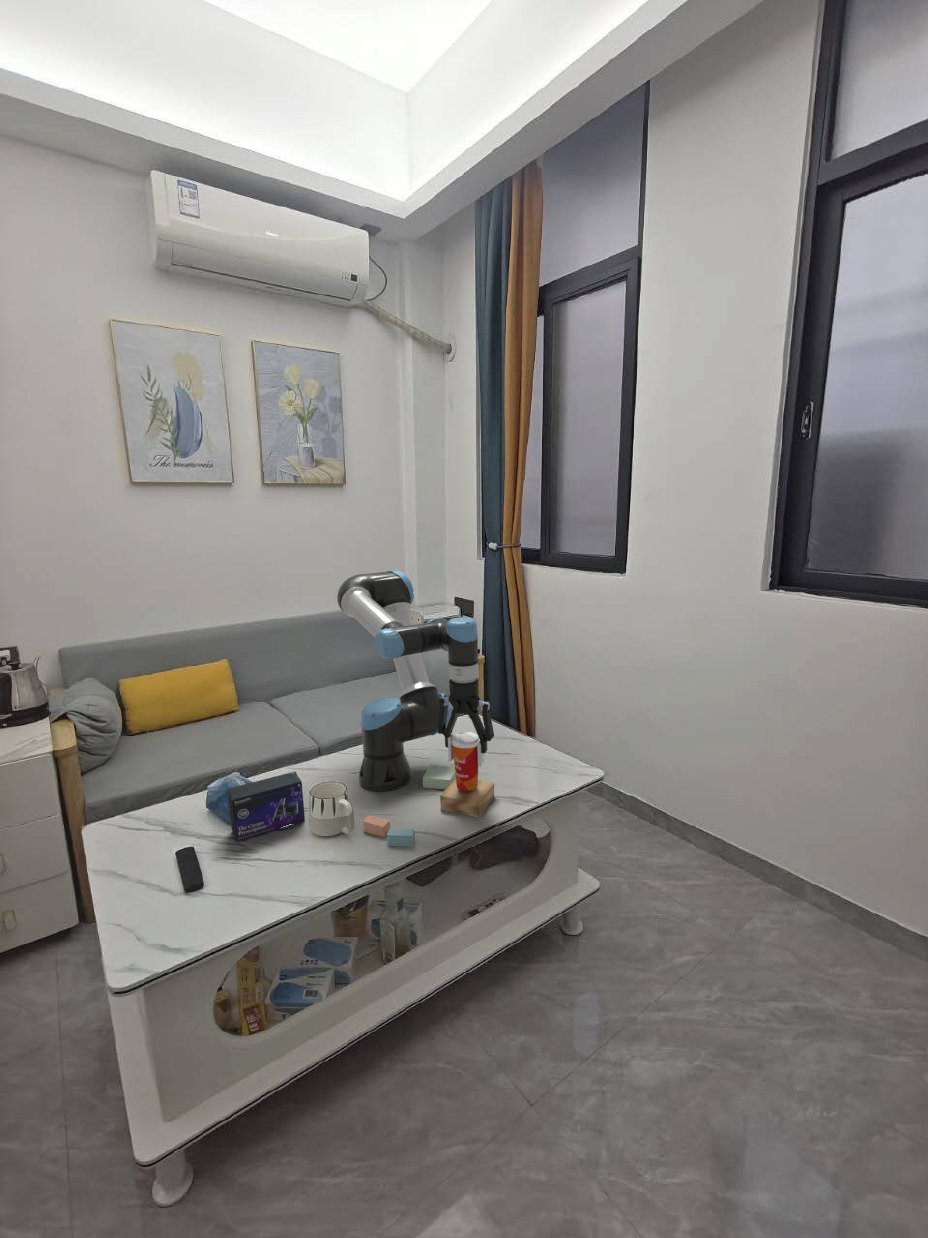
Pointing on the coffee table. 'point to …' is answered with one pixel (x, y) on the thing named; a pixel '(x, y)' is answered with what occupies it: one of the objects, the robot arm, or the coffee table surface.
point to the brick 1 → (376, 826)
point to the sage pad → (439, 777)
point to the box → (266, 805)
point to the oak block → (467, 799)
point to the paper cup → (466, 760)
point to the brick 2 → (401, 837)
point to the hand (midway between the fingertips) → (466, 761)
